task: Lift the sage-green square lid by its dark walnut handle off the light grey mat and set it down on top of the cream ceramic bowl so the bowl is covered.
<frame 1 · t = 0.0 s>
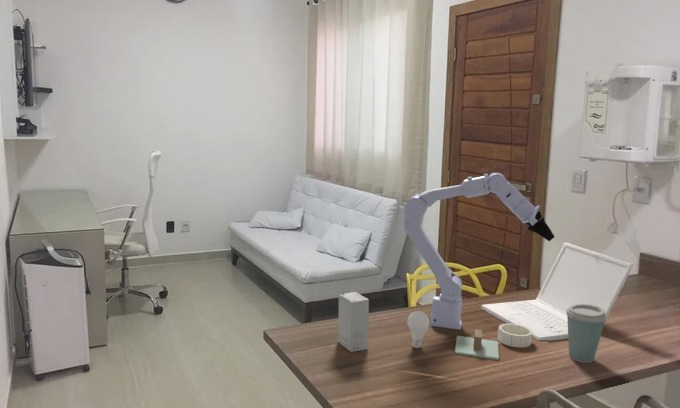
hand: (550, 236, 172), 32 cm above the table, tool tilted 50°, fingers open, 7 cm apart
lid: (476, 348, 165), resting on mat
skincare box: (351, 346, 163), on the table
lightbulb: (416, 348, 164), on the table
bowl: (514, 342, 172), on the table
laptop: (549, 320, 193), on the table
mat: (476, 349, 165), on the table
disposable coffee cup: (580, 358, 163), on the table
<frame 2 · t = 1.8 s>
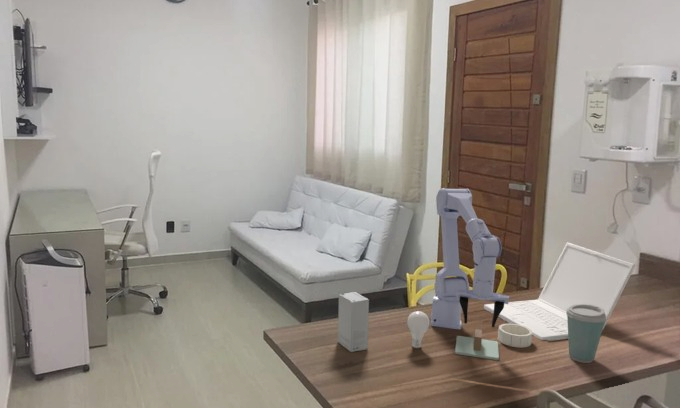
hand: (479, 324, 164), 8 cm above the table, tool pointing down, fingers open, 7 cm apart
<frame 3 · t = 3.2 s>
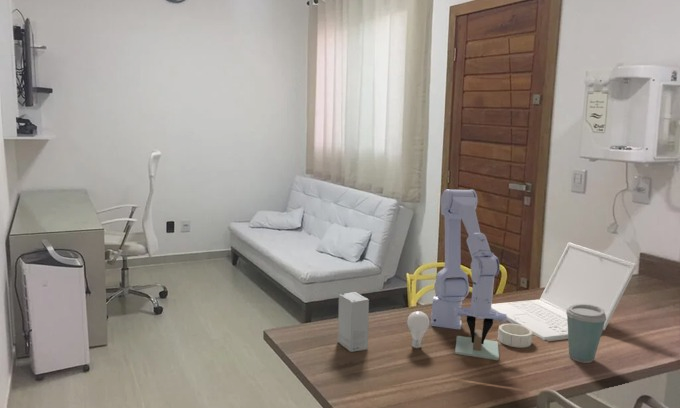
hand: (477, 342, 165), 2 cm above the table, tool pointing down, fingers closed on lid
lid: (476, 348, 165), resting on mat, touching gripper
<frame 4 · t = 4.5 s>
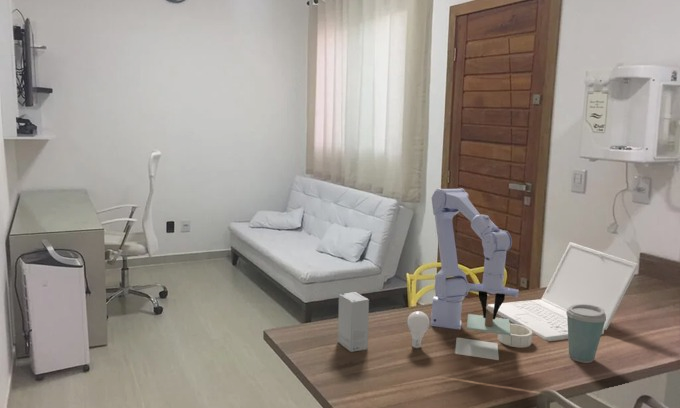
hand: (489, 317, 165), 9 cm above the table, tool pointing down, fingers closed on lid
lid: (488, 325, 165), point 7 cm above the table, touching gripper
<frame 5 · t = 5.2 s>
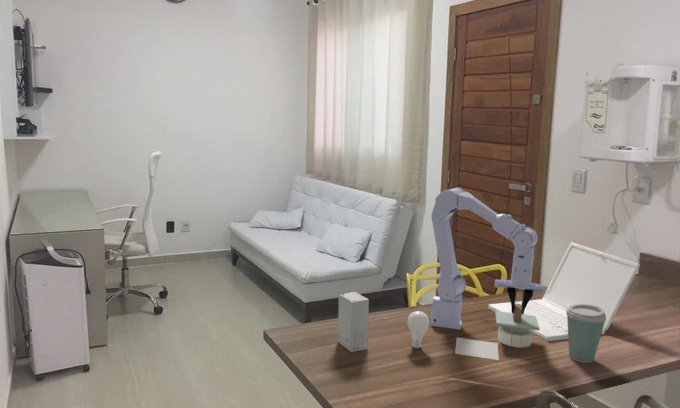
hand: (517, 312, 170), 9 cm above the table, tool pointing down, fingers closed on lid
lid: (516, 321, 171), point 7 cm above the table, touching gripper
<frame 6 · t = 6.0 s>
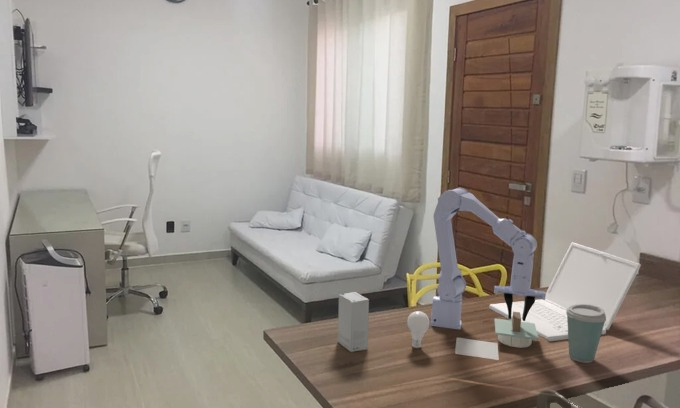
hand: (516, 318, 171), 7 cm above the table, tool pointing down, fingers open, 3 cm apart
lid: (515, 329, 171), point 4 cm above the table, touching bowl
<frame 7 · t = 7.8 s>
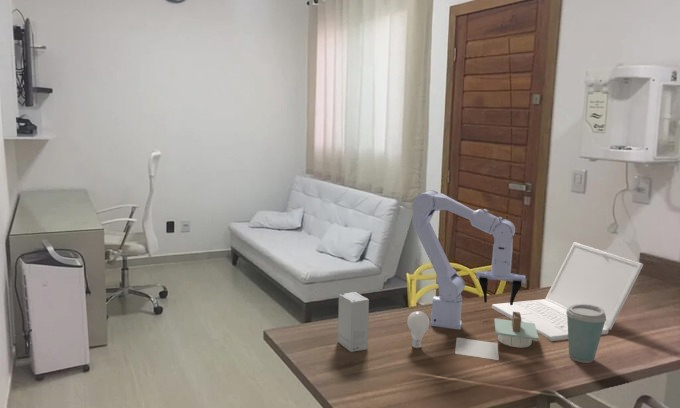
hand: (498, 302, 175), 10 cm above the table, tool pointing down, fingers open, 7 cm apart
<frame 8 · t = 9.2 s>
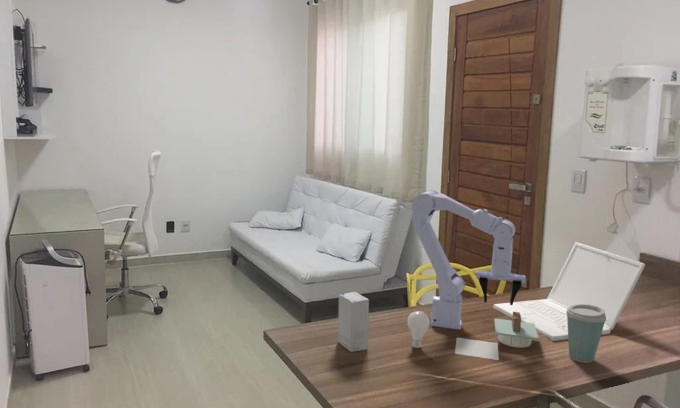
hand: (498, 302, 175), 10 cm above the table, tool pointing down, fingers open, 7 cm apart
at the end: lid 0.1 cm off-centre on the bowl, point 4.0 cm above the bowl's base; lid tilted 0°; the gripper is holding nothing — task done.
